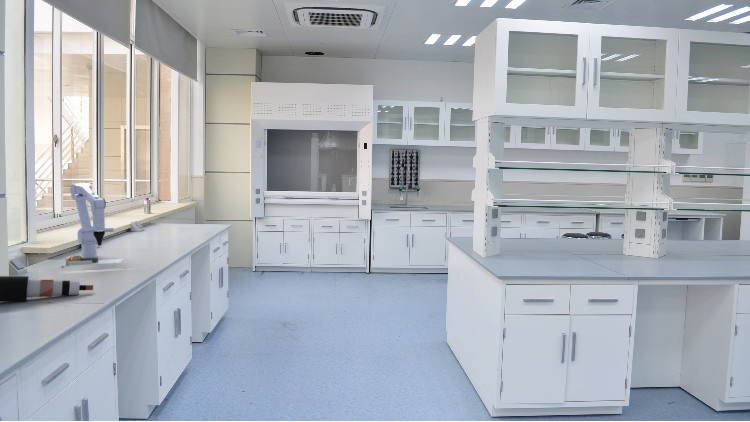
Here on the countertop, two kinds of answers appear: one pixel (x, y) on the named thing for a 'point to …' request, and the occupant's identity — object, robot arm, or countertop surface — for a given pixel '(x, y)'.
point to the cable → (36, 288)
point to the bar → (90, 259)
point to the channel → (89, 262)
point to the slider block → (76, 258)
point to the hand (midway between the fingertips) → (99, 245)
